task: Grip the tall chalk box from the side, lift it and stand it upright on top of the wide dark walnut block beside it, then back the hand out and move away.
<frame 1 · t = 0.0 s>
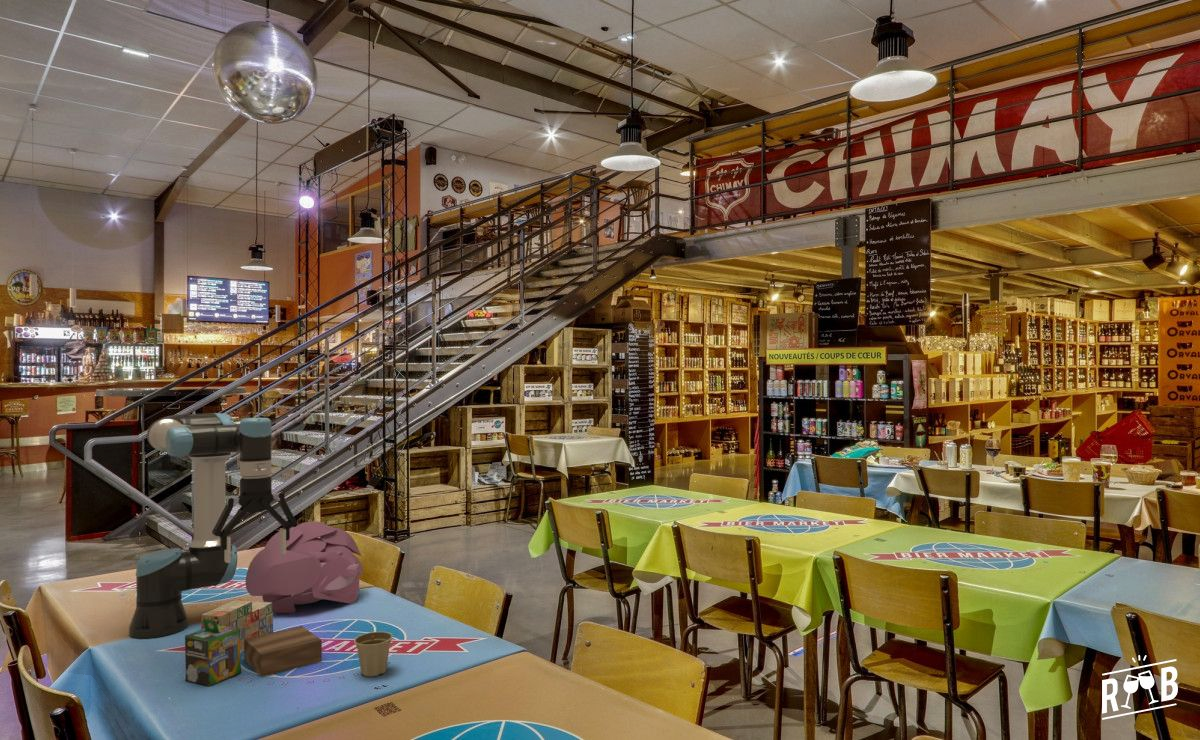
hand: (255, 557, 187), 28 cm above the table, fingers open, 13 cm apart
chalk box: (213, 678, 179), on the table
stack of blocks: (238, 647, 200), on the table
flower pot: (373, 672, 181), on the table
walnut base block: (282, 662, 189), on the table
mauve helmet: (313, 604, 238), on the table
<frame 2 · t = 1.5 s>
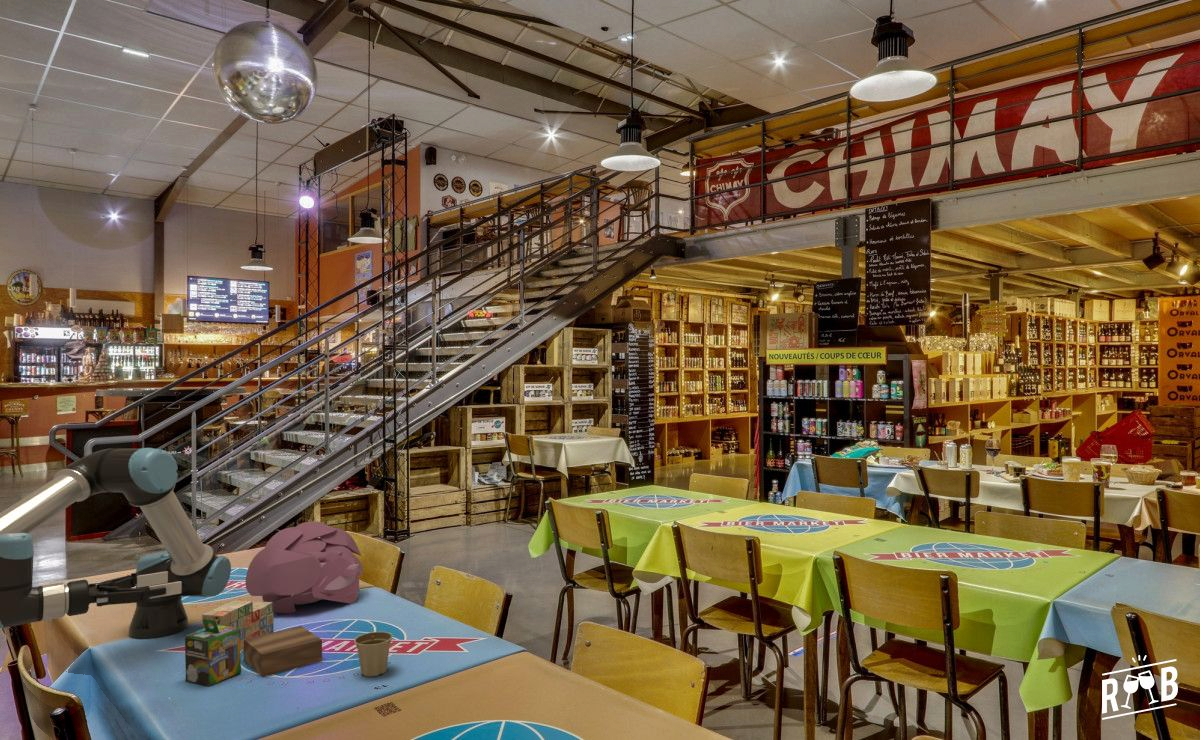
hand: (174, 581, 173), 25 cm above the table, fingers open, 13 cm apart
nothing on the table moved.
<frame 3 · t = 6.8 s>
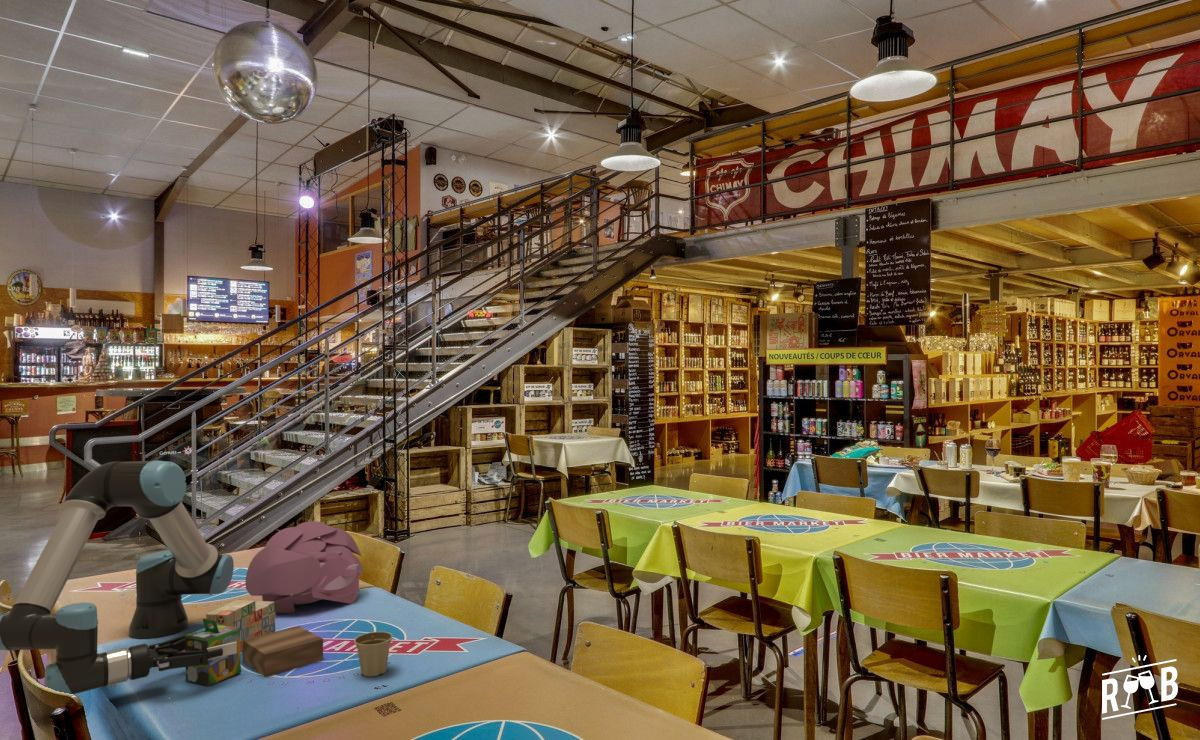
hand: (229, 640, 181), 8 cm above the table, fingers closed on chalk box, 11 cm apart
chalk box: (213, 677, 179), on the table, touching gripper
when the fingers open (15 cm above the table, at t = 12.4 s): chalk box drops 2 cm, resting on walnut base block.
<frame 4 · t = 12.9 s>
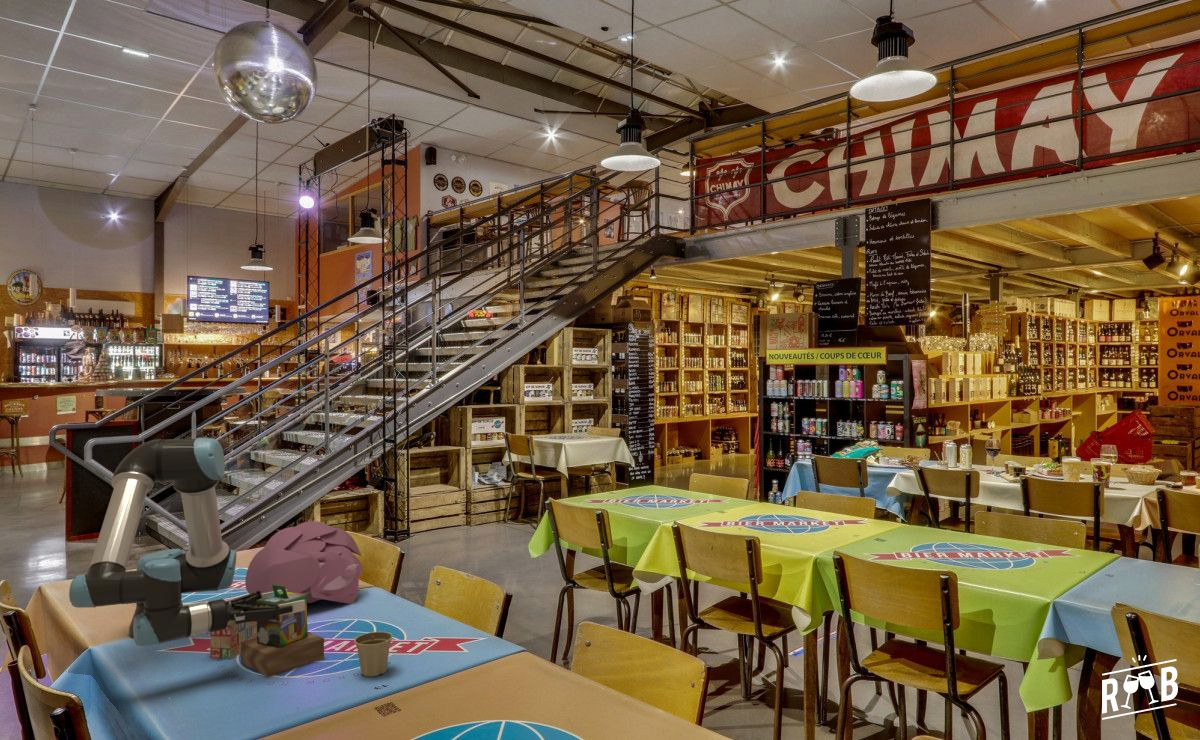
hand: (295, 599, 191), 15 cm above the table, fingers open, 13 cm apart
chalk box: (282, 640, 189), point 5 cm above the table, touching walnut base block
walnut base block: (282, 662, 189), on the table, touching chalk box
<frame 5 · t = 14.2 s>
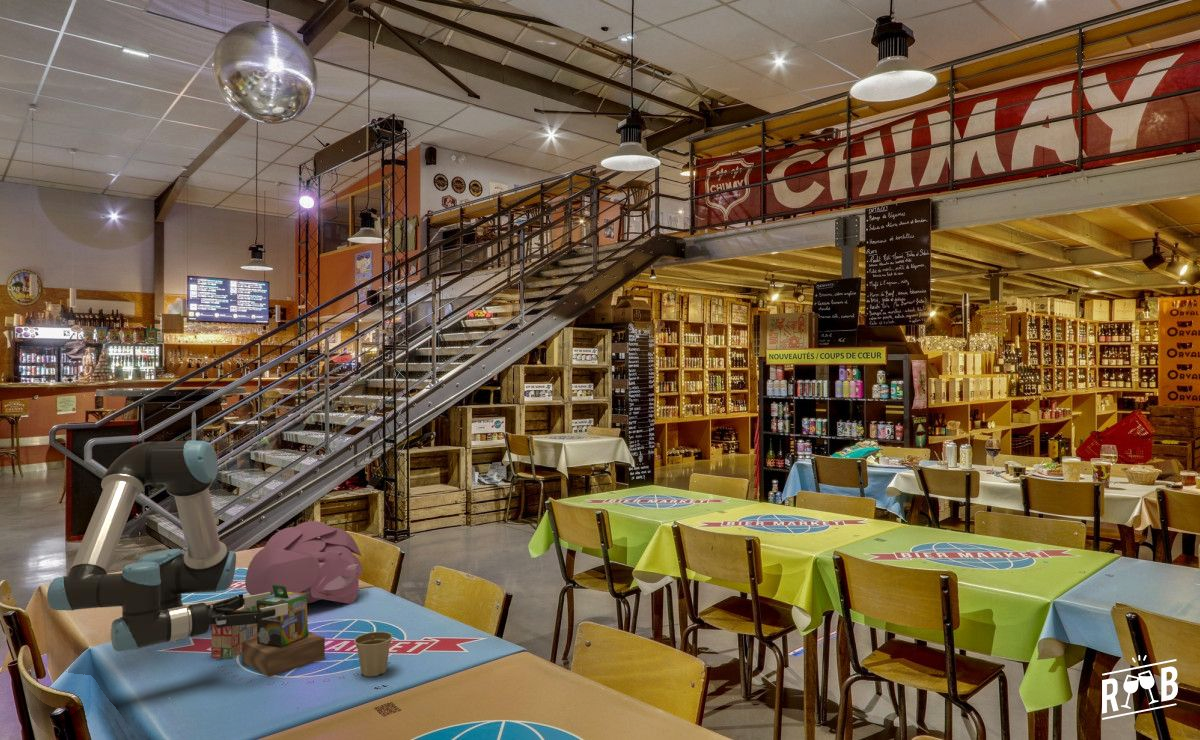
hand: (278, 602, 188), 16 cm above the table, fingers open, 13 cm apart
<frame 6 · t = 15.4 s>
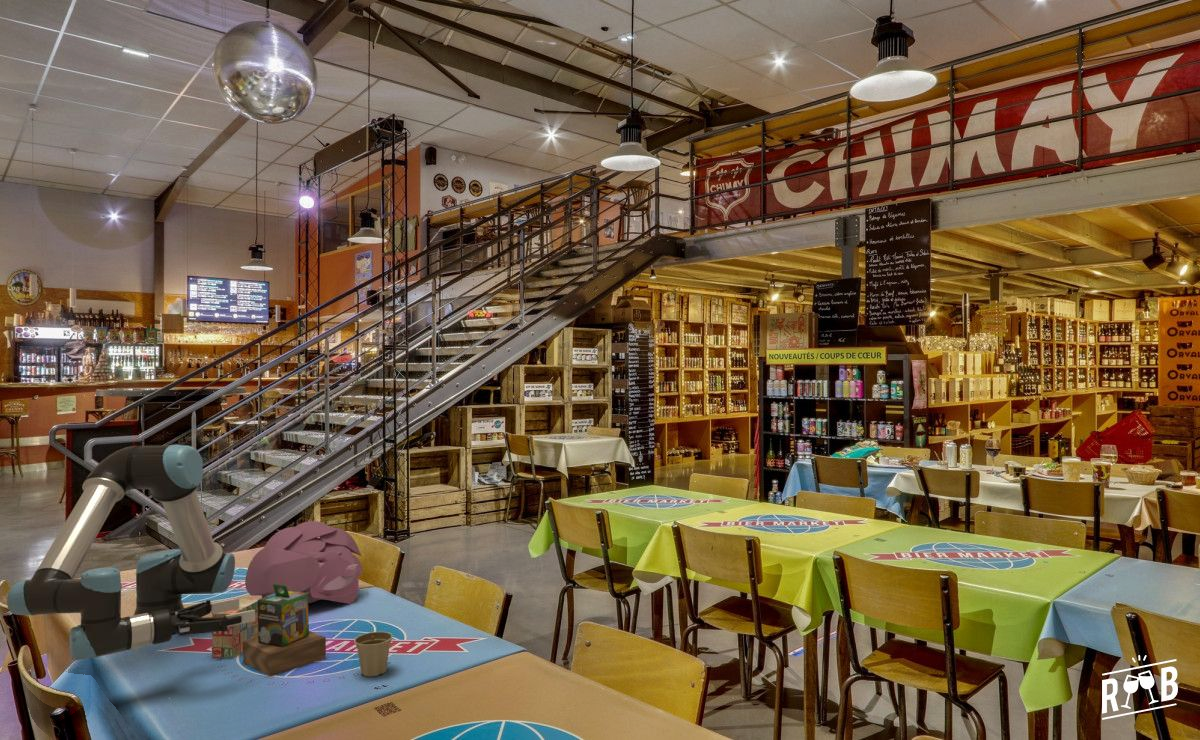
hand: (246, 609, 183), 16 cm above the table, fingers open, 13 cm apart
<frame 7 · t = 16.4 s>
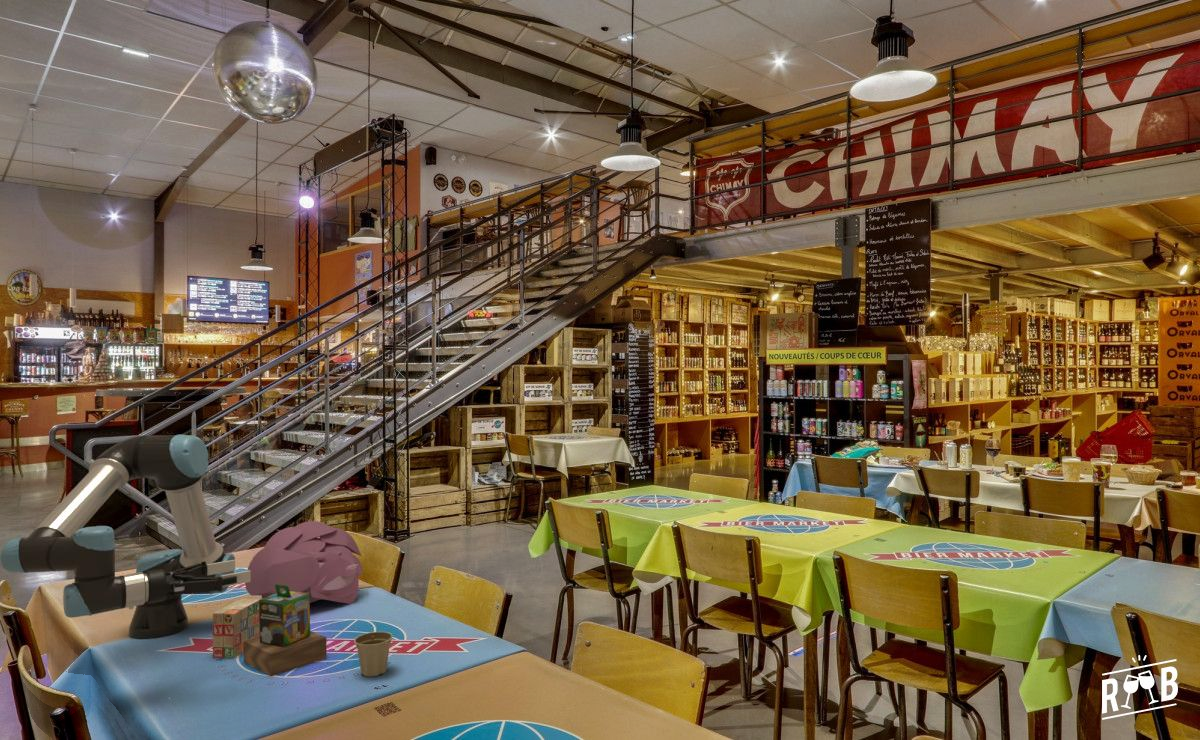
hand: (242, 570, 182), 26 cm above the table, fingers open, 13 cm apart
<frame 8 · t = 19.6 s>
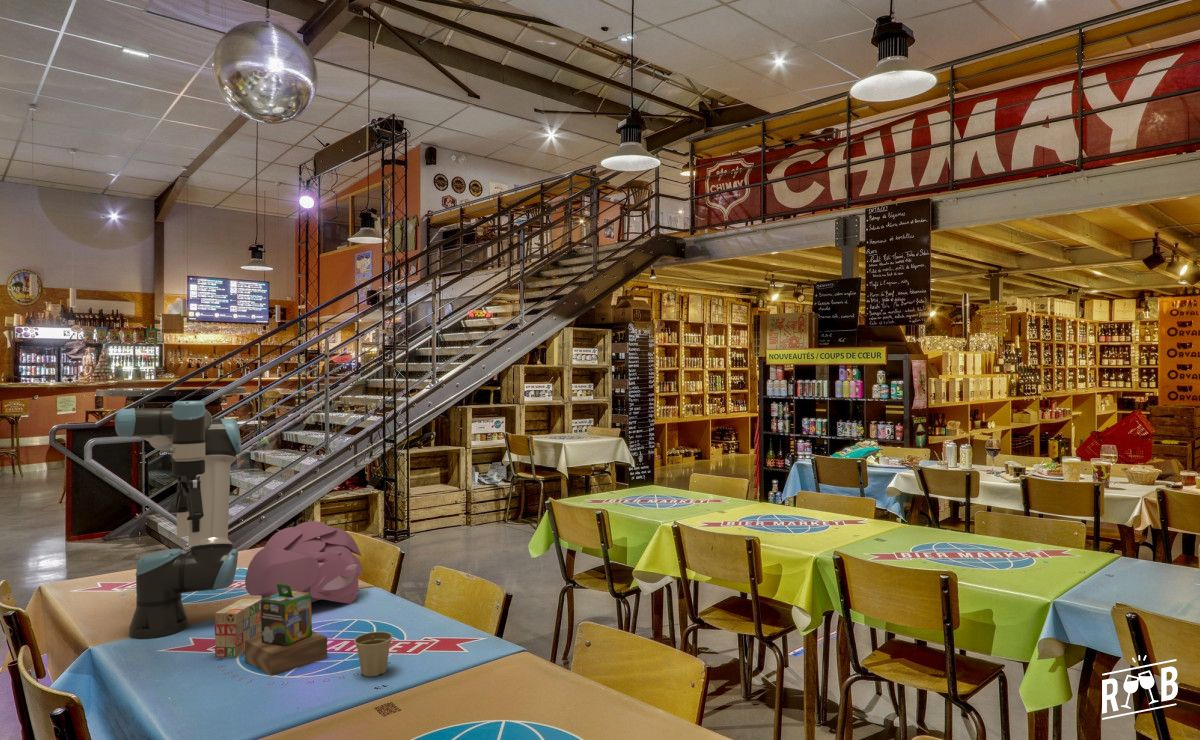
hand: (188, 540, 186), 33 cm above the table, fingers open, 13 cm apart
at the end: chalk box inside the target area on the walnut base block (0.2 cm from its centre), point 5.9 cm above the walnut base block's base; chalk box tilted 0°; the gripper is holding nothing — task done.
